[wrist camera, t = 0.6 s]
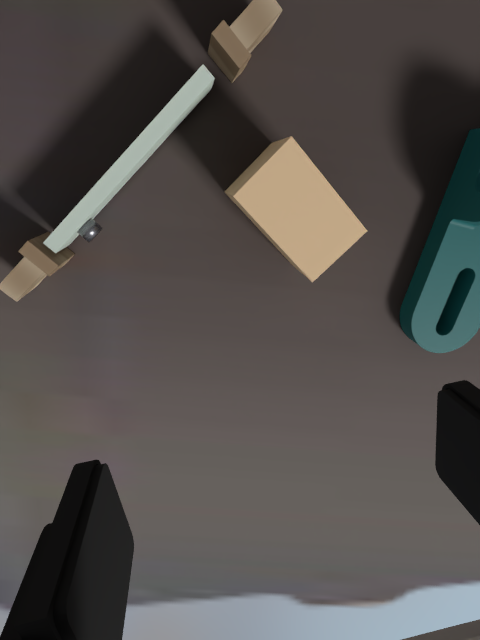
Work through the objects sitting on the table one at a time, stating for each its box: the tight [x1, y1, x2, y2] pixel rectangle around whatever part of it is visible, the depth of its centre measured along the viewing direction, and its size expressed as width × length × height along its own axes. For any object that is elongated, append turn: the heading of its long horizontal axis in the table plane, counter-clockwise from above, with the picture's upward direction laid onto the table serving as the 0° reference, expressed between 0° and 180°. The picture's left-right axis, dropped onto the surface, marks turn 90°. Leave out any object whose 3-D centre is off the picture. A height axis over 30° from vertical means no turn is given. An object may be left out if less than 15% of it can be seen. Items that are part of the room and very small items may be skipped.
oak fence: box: [0, 0, 282, 302], centre depth 27 cm, size 25×2×4 cm, turn 134°
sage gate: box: [43, 65, 215, 253], centre depth 27 cm, size 15×2×4 cm, turn 134°
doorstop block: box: [225, 136, 367, 282], centre depth 28 cm, size 5×8×6 cm, turn 44°
